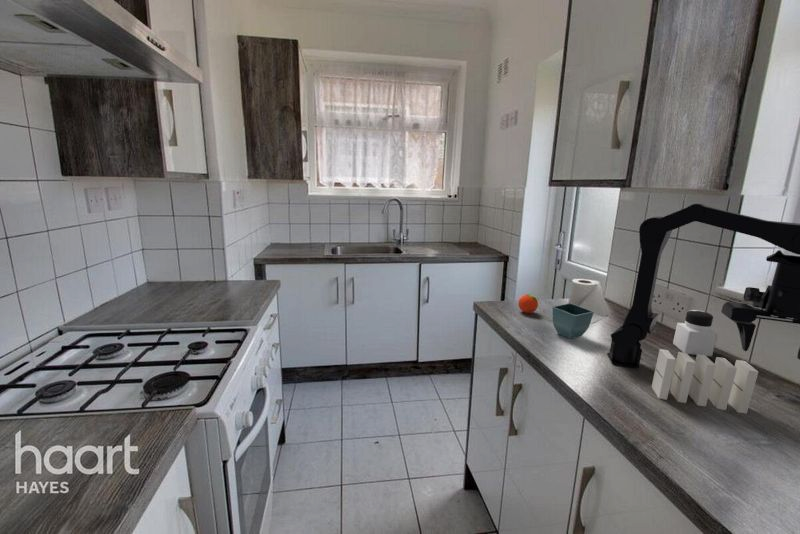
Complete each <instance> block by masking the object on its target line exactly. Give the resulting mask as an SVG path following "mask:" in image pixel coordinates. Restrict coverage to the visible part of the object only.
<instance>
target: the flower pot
mask: <svg viewBox="0 0 800 534" xmlns="http://www.w3.org/2000/svg"><path fill="white" fill-rule="evenodd" d="M594 313H595V312H594V311H593V310H590V309H587V308H586V307H583V306H580V305H577V304H574V303H571V302H570V303H564V304H560V305H554V306H552V323H553V326H554V330H555V331H556V333H558V335H561V336H564V337H565V338H567V339H571V340H572V339H576V338H580V337H582V336H583V335H584V334H585V333H586V332H587V330H588V329H589V328H590V325H591V322H592V318H593V317H594Z"/></svg>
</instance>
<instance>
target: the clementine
mask: <svg viewBox="0 0 800 534" xmlns="http://www.w3.org/2000/svg"><path fill="white" fill-rule="evenodd" d="M538 301H540V299H539V298H538V297H537V296H535V295H532V294H524V295H522V296H521V297H520V298H519V300H518V302H517V303H518V308H519V309H520V311H522V312H523V313H525V314H532V313H534V312H536V311H537V309H538V308H539V304H541V302H538Z"/></svg>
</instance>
